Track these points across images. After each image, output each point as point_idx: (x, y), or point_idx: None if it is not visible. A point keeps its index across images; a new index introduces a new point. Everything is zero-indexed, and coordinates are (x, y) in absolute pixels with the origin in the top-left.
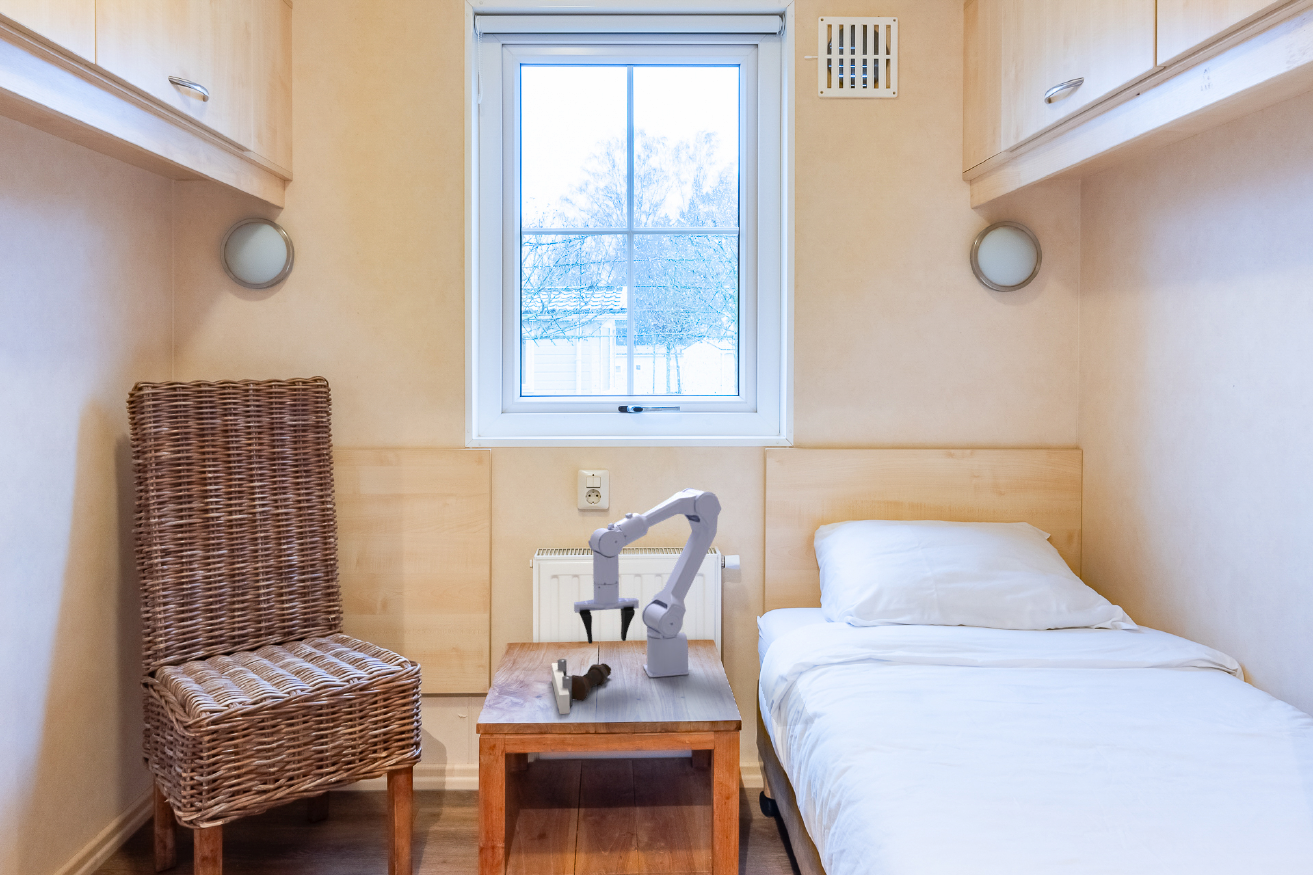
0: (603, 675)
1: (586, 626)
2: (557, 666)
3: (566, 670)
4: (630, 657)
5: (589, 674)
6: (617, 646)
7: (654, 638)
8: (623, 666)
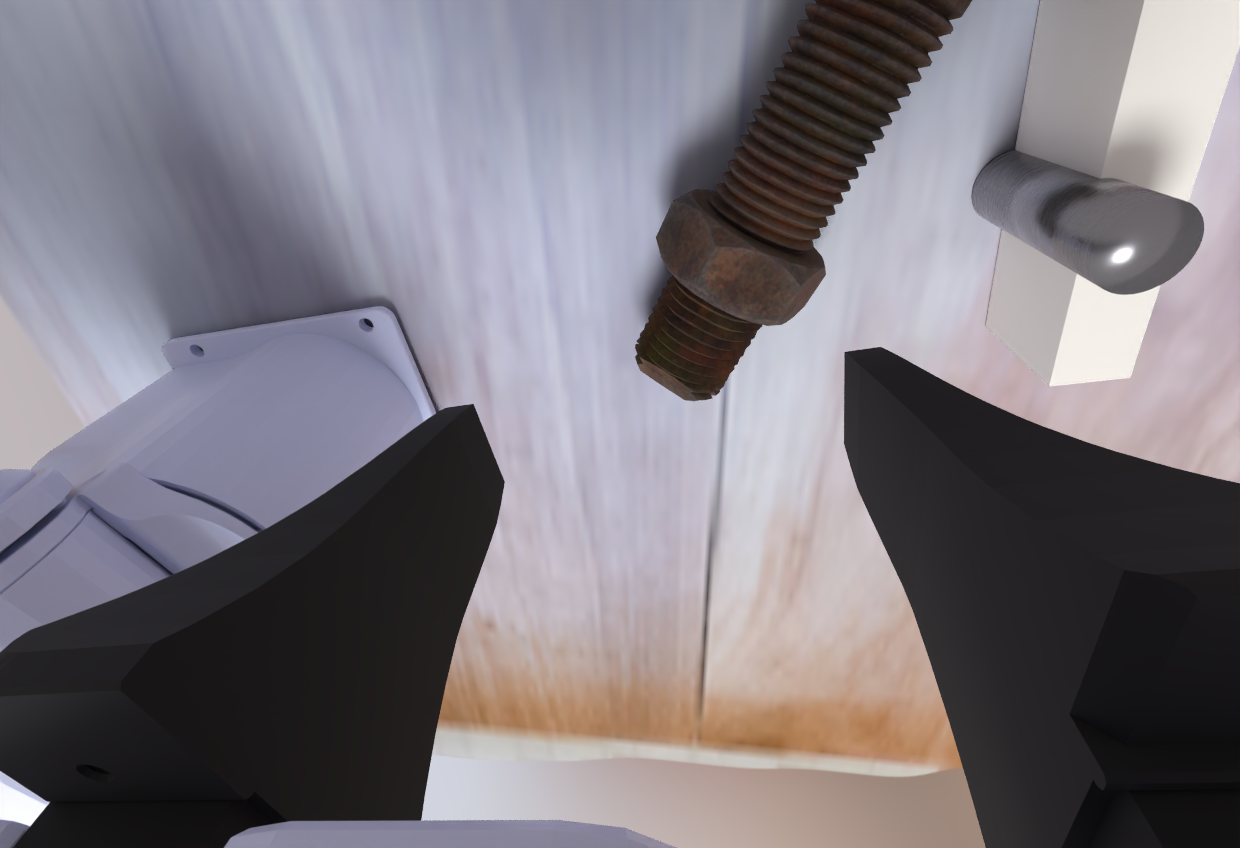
0: (695, 199)
1: (1078, 447)
2: (1107, 295)
3: (1041, 213)
4: (546, 590)
5: (837, 95)
6: (615, 696)
7: (215, 500)
8: (573, 491)
